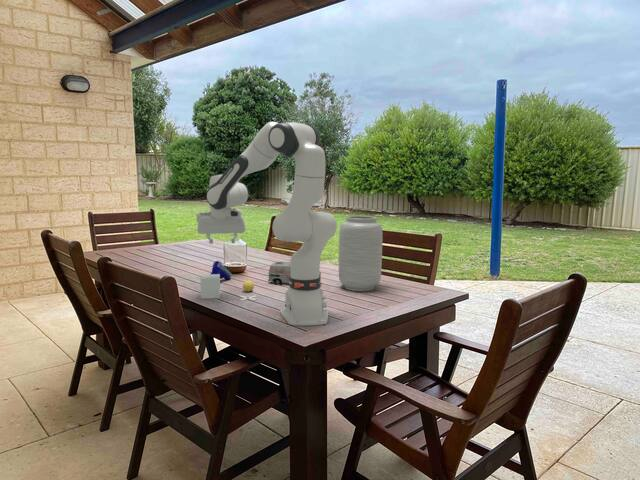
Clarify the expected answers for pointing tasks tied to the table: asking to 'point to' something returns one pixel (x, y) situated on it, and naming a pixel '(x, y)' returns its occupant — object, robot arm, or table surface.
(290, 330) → the table surface
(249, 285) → the ball
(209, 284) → the grey block
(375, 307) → the table surface
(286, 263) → the toy car
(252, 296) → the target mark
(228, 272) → the toy gun
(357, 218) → the vase
